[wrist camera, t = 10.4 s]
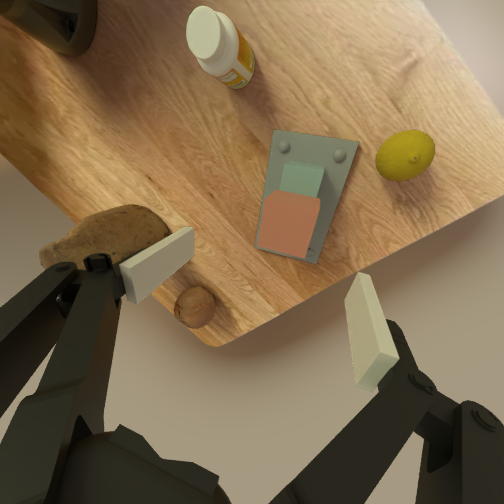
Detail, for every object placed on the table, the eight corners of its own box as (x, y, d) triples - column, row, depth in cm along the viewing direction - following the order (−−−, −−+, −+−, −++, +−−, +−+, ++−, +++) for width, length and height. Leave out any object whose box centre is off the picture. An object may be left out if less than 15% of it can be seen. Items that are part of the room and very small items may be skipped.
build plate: (275, 129, 31) (263, 125, 25) (358, 141, 28) (367, 140, 22) (256, 245, 41) (244, 262, 35) (316, 261, 38) (315, 283, 32)
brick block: (275, 189, 28) (264, 198, 23) (320, 198, 26) (319, 210, 21) (268, 229, 31) (257, 246, 25) (308, 239, 29) (304, 258, 24)
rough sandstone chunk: (176, 235, 46) (90, 286, 29) (160, 250, 50) (74, 303, 33) (143, 195, 44) (28, 225, 27) (128, 214, 48) (19, 251, 31)
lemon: (362, 170, 30) (374, 177, 23) (384, 127, 27) (404, 120, 20) (401, 181, 29) (425, 192, 22) (428, 138, 26) (464, 135, 19)
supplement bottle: (233, 29, 27) (193, -22, 19) (263, 58, 28) (237, 20, 19) (213, 72, 30) (171, 44, 22) (240, 98, 30) (209, 80, 22)
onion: (198, 285, 55) (161, 300, 48) (214, 277, 49) (175, 292, 42) (211, 318, 54) (175, 338, 47) (229, 314, 48) (191, 336, 41)
